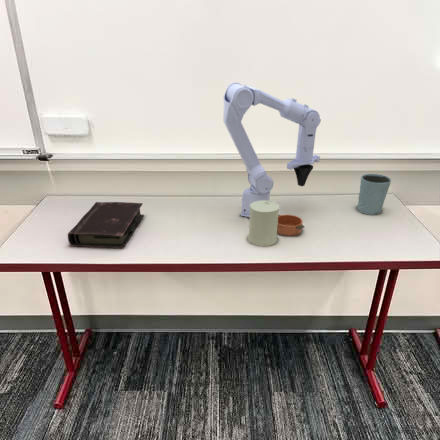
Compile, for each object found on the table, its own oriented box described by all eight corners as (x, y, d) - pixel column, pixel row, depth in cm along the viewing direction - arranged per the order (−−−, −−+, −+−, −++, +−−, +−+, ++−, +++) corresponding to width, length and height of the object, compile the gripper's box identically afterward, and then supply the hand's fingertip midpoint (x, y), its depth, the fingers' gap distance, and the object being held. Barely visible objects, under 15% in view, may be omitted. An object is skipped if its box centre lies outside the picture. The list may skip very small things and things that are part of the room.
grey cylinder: (350, 209, 156) (355, 177, 150) (364, 202, 162) (371, 171, 155) (374, 217, 150) (381, 185, 143) (389, 210, 156) (396, 178, 149)
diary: (68, 246, 133) (65, 232, 130) (96, 214, 153) (93, 200, 150) (126, 249, 131) (124, 234, 128) (146, 216, 152) (144, 203, 149)
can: (279, 235, 139) (282, 200, 132) (273, 248, 132) (276, 212, 125) (252, 231, 141) (254, 197, 134) (244, 243, 134) (246, 208, 127)
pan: (284, 220, 148) (285, 211, 146) (310, 232, 141) (311, 222, 139) (265, 227, 144) (265, 218, 142) (291, 240, 136) (292, 230, 134)
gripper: (299, 153, 137) (295, 193, 144) (328, 145, 144) (323, 183, 152) (283, 148, 141) (280, 187, 149) (312, 141, 149) (308, 178, 156)
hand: (301, 185), depth 151 cm, fingers closed
